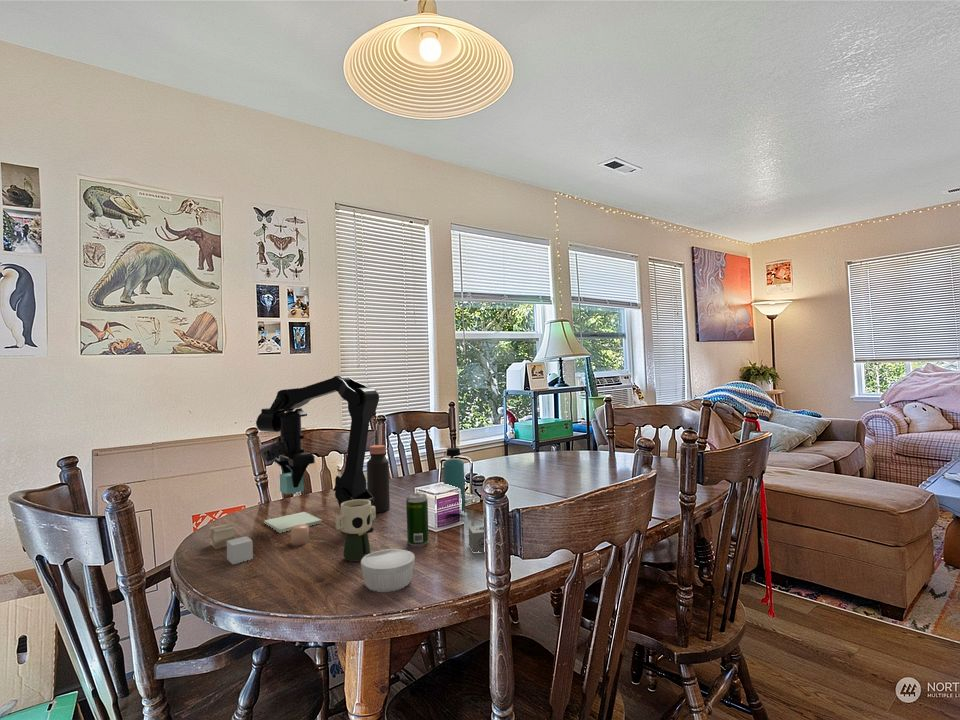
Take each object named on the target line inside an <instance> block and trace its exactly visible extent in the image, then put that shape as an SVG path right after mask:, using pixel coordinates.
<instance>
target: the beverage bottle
mask: <svg viewBox="0 0 960 720" xmlns="http://www.w3.org/2000/svg"><path fill="white" fill-rule="evenodd" d="M446 456H447V457H459V456H461V450H460V448H459V447H449V448H447V449H446ZM442 464H443V485H444V484H449V485H452V486H455V487H458V488H460V489H461V494H462V512H465V510H466V504H467V503H466V490H465V487H466V486H465V478H466V475H465V462H464V461H463V460H462V459H461V458H447V459H446V460H445V461H444V462H443V463H442Z"/></svg>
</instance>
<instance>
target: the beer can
mask: <svg viewBox="0 0 960 720" xmlns="http://www.w3.org/2000/svg"><path fill="white" fill-rule="evenodd" d="M428 500H429V499H428V496H427V494H426V493H422V492H421V493H420V492H419V493H417V492H416V493H411V494H408V495H407V496H406V500H405V501H406V502H405V503H406V538H407V539H406V540H407V543H408V545H409V546H410V545H411V546H410V547H422V546H421V545H423V546H426V545H427V544H428V543H429V505H428V502H429V501H428ZM425 544H426V545H425Z"/></svg>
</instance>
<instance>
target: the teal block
mask: <svg viewBox="0 0 960 720" xmlns="http://www.w3.org/2000/svg"><path fill="white" fill-rule="evenodd" d="M304 474H305V473H304ZM304 474H303V476H302V478H301V481H300V483H299V485H298V487H296V488H294V487H293V482H292V476H291V472H290V473H284V474H283V473H279V492H280V493H282V494H284V495H290V494H296V493H300V492H302V493H303V492H305V487H304V486H305V481H304V478H305V477H304Z"/></svg>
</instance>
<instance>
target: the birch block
mask: <svg viewBox="0 0 960 720" xmlns="http://www.w3.org/2000/svg"><path fill="white" fill-rule="evenodd" d="M209 532H210V533H209V534H210V546H211V545H212V546H213V547H212V546H211V547H212V548H213V549H214V550H218V549H223V548H227V547H226V546H227V541H228V540H232V539H235V527H234V526H233V525H231V524H230V523H227V524H223V525H222V524H221V525H218V526H213V527H210V531H209ZM222 547H223V548H222Z"/></svg>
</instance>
